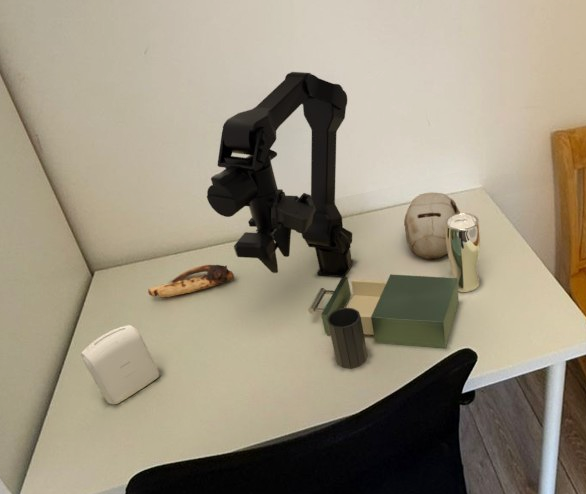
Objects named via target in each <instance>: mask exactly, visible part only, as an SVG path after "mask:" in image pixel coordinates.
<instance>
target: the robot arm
mask: <svg viewBox="0 0 586 494" xmlns="http://www.w3.org/2000/svg"><path fill="white" fill-rule="evenodd" d="M301 105H302V109H303V110H302V112H303V116H304V118H305V120H306V123H307V124H308V126H309V128H310V130H311V131H310V132H311V147H310V149H311V151H310V153H311V159H310V160H311V161H310V194H308V193H305V192H303V193H302V194H301V195H300V196H298V195H286V193H285V191H284V190H283V188H280V189H279V188H278V185H277V181H276V177H275V172H274V169H273V165H272V160H274V159H275V158H276V157H277V156H278V152H277V151H275V150H273V149H271V148H272V147H273V145H274V144H275V143H276V141H277V130H278V129H279V128H280V126H282V124H283V123H285V122H286V121H287V119H288V118H289V117H291V116H292V114H294V113H295V111H296V110H297V109H298V108H299V107H300V106H301ZM347 106H348V95H347V92H346V90H344V87H342V85H340V84H339V83H333V82H330V81H328V80H325V79H322V78H320V77H317V75H315V74H312V73H311V72H304V71H303V72H301V71H290V72H288V73H287V74H286V75H285V77H284V79H283V81H281V82H280V84H279V85H277V86H276V87H275V88H274V89H273V90H272V91H271V92H270V93H269V94H267V96H266V97H264V99H263V100H261V101H260V103H258V104H257V105H256V106H254V107H253V108H251V109H248V110H244V111H241V112H237V113H235V114H234V115H232V116H231V117H229V118H227V119H226V120H225V122H224V123H223V125H222V131H221V136H220V144H219V152H218V156H217V157H218V158H217V167H219V168H224V169H223V170H222V171H221V172H219V173H217V174H214V175H213V176H211V177H210V180H211V185H209V187H208V188H207V191H206V192H207V193H206V199H207V202H208V204H209V205H210V207H211V208H212V209H213V210H214V212H216V213H217V214H219V215H220V216H222V217H225V218H231V217H233V216H235V214H237V213H238V212H240V211H241V210H242V209H243V208H245V207H248V208H249V209H248V210H249V212H250V217H251V218H249V220H248V225H249V227H252V228H254V227H255V228H256V230H255V232H246V231H245V232H244V233H243V234H242V235H241V236H240V238H239V239H238V240H237V241H236V243H234V245H233V248H234V249H233V250H234V252H235V255H236V257H237V258H245V259H247V258H248V259H249V258H250V259H258V260H259V261H260V262H261V263H262V264H263V265H264V266H265V267H266V268H267V270H269V271H270V273H271V274H277V273H279V272H278V271H279V267H278V265H279V264H278V259H277V252H276V250H279V251H280V253H281V255H282V256H283V257H284V258H285V257H286V258H288V257H289V256H290V251H291V250H290V249H291V238H292V237H291V236H292V230H293V231H294V232H296V233H298V234H301V237H302V239H303V240H304V241H305V243H306V245H307V246H308V248H314V249H315V250H314V251H315V255H316V258H317V263H318V268H319V269H318V271H317V273H316V275H317V276H319V277H320V276H323V277H339V278H340V277H341V278H342V277H346V275H347V274H348V272H349V271H350V269H351V267H352V265H353V262H354V261H353V259H352V255H351V248H352V247H351V246H352V245H351V244H352V243H353V232H352V231H350V230H348V229H346V228H345V227H343V226H344V225H343V224H344V223H343V215H342V214H341V213H340V210H339V208H338V207H337V205H336V172H337V171H336V170H337V133H338V130H339V128H340V127H341V126H342V124H343V122H344V120H345V118H346V110H347ZM233 154H238V155H246V157H244V156H236V155H235V156H233Z"/></svg>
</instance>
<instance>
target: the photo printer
mask: <svg viewBox="0 0 586 494" xmlns="http://www.w3.org/2000/svg"><path fill="white" fill-rule="evenodd" d="M80 355H81V358H82V360H83V364H84V366H85V367H86V369H87V371H88V372H89V374H90V375H91V377H92V379H93V381H94V383H95V384H96V386H97V387H98V389H99V391H100V392H101V394H102V396H103V397H104V399H105V401H106V402H107V403H108V404H109V405H117V404H119V403H121V402H123V401H125V400H126V399H128V398H130V397H131V396H133V395H135V394H136V393H137V392H139V391H141V390H142V389H144V388H145V387H146V386H148V385H150V384H151V383H153V382H154V381H156V379H158V378H159V377H160V376H161V375H160V371H159V369H158V367H157V364H156V362H155V361H154V359H153V357H152V355H151V353H150V351H149V349H148V347H147V344H146V343H145V341H144V338H143V337H142V335H141V333H140V332H139V331H138V330H137V328H136V327H134V326H132V325H131V324H128V325H127V324H126V325H122V326H120V327H116V328H114V329H111V330H110V331H107V332H106V333H104V334H102V335H100V336H99V337H97V338H96V339H94V340H93V341H92V342H90V344H88V345H87V346H86V347H85V348H84V349H83V350H82V352H81V353H80Z"/></svg>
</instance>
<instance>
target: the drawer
mask: <svg viewBox="0 0 586 494" xmlns="http://www.w3.org/2000/svg"><path fill="white" fill-rule="evenodd" d="M387 281H388V280H378V279H377V280H374V279H359V278H352V279H351V280H350V282H349V277H348V276H344V277H341V278H340V280H339V281H338V283H337V285H336V287H335V288H334V290H329V289H326V288H325V287H320V288H319V290H318V291H317V294H316V295H315V296H314V299H313V300H312V302H311V303H310V305H309V307H308V309H307V312H308V313H309V314H311V315H314V314H315V313H320V314H321V315H320V316H321V320H322V325H323V329H324V334H327V335H330V331H329V327H328V322H327V318H328V316H329V314H330V313H332V312H333V311H335V310H337V309H341V308H352V309H355V310H357V311H358V312H359V314H360V316H361V322H362V327H363V333H364V335H372V336H374V332H373V326H372V320H371V316H372V314H373V312H374V309H375V307H376V305H377V303H378V301H379V298H380V296H381V294H382V292H383V290H384V287H385V285H386V283H387ZM350 283H351V287H352V292H351V288H350ZM352 293H353V295H352ZM325 295H330V298H329V299H328V302H327V303H326V305H325V307H324V308H323V307H319V306H320V304H321V302H322V301H323V299H324V297H325ZM351 296H352V298H351ZM350 298H351V300H350ZM349 300H350V302H349ZM348 302H349V304H348ZM347 304H348V305H347Z"/></svg>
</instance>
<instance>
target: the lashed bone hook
mask: <svg viewBox="0 0 586 494" xmlns="http://www.w3.org/2000/svg"><path fill="white" fill-rule="evenodd" d="M204 272H205V273H204ZM199 273H204V274H202V275H200V276H195V277H191V278H187V277H189V276H192V275H194V274H195V275H196V274H199ZM234 277H235V274H234V273H233V271H232V270H229V269H228V265H221V264H204V265H199V266H196V267H194V268H191V269H188V270H186V271H184V272H182V273H180V274H178V275H177V276H176V277H174V278H173V279H172V280H171V282H170V283H166V284H165V283H164V284H160V285H156V286H152V287H149V288H148V295H149V296H151V297H157V296H158V297H160V298H169V297H174V296H179V295H184V294H189V293H190V294H191V293H193V292H197V291H200V290H205V289H209V288H212V287H216V286H219V285H222V284H223V283H226V282H227V281H231V280H233V279H234ZM185 278H186V279H185Z"/></svg>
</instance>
